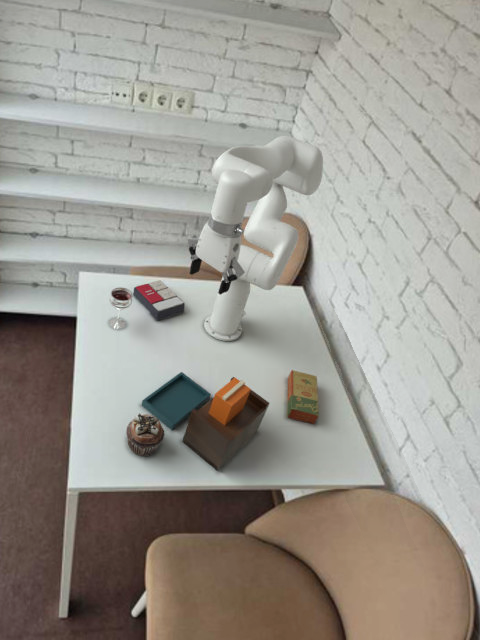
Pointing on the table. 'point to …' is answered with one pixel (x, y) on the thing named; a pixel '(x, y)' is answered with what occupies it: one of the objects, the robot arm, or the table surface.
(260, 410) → the shelf
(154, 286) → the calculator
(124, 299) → the wineglass
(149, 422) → the cupcake
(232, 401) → the packet
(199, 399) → the tray
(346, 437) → the table surface
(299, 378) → the carton
